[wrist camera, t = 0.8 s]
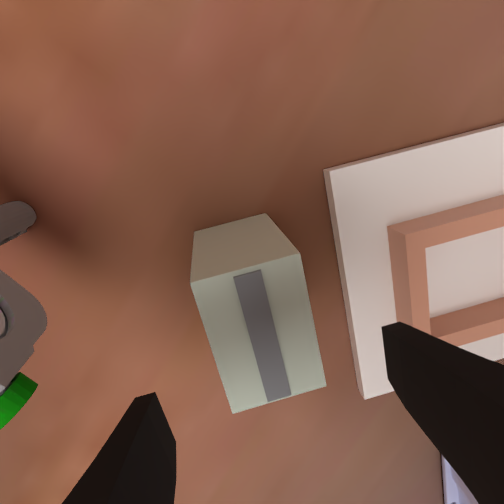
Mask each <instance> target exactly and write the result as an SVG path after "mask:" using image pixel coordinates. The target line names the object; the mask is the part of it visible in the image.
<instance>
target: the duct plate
mask: <svg viewBox="0 0 504 504" xmlns="http://www.w3.org/2000/svg"><path fill="white" fill-rule="evenodd" d="M323 173H324V179H325V186H326V192H327V198H328V204H329V211H330V217H331V223H332V229H333V235H334V242H335V248H336V254H337V260H338V267H339V273H340V279H341V285H342V292H343V298H344V304H345V310H346V316H347V323H348V329H349V335H350V341H351V348H352V354H353V360H354V366H355V372H356V379H357V385H358V390H359V391H360V393H361V395H362V396H363V398H364V399H369V398H372V397H375V396H379V395H382V394H385V393H389V392H392V391H395V390H394V389H393V387H392V385H391V384H390V382H389V380H388V378H387V369H386V361H385V353H384V345H383V336H382V328H381V327H382V326H386V325H389V324H393V323H396V322H402V323H405V324H407V325H410V326H412V327H414V328H417V329H419V330H421V331H423V332H425V333H428V334H430V335H432V336H434V337H437V338H439V339H441V340H443V341H446V342H448V343H450V344H452V345H455V346H457V347H459V348H462V349H464V350H466V351H469V352H471V353H474V354H476V355H479V356H481V357H484V358H486V359H489V360H492V361H496V360H499V359H502V358H504V123H500V124H496V125H492V126H489V127H485V128H481V129H477V130H473V131H469V132H466V133H462V134H458V135H454V136H450V137H446V138H442V139H439V140H435V141H431V142H427V143H423V144H419V145H416V146H412V147H408V148H404V149H400V150H396V151H392V152H389V153H385V154H381V155H377V156H373V157H369V158H365V159H362V160H358V161H354V162H350V163H346V164H342V165H339V166H335V167H331V168H327V169H323Z"/></svg>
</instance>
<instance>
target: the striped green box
mask: <svg viewBox="0 0 504 504" xmlns="http://www.w3.org/2000/svg"><path fill="white" fill-rule="evenodd" d="M190 285H191V288H192V291H193V294H194V297H195V300H196V303H197V307H198V310H199V313H200V316H201V319H202V322H203V325H204V328H205V331H206V334H207V337H208V340H209V343H210V346H211V349H212V352H213V355H214V359H215V362H216V365H217V368H218V371H219V374H220V377H221V380H222V383H223V386H224V389H225V392H226V395H227V398H228V401H229V404H230V407H231V410H232V414H234V413H237V412H240V411H244V410H247V409H251V408H254V407H257V406H261V405H264V404H268V403H271V402H274V401H278V400H281V399H284V398H288V397H291V396H295V395H298V394H301V393H305V392H308V391H311V390H315V389H318V388H322V387H325V386H326V381H325V376H324V371H323V366H322V361H321V356H320V351H319V346H318V341H317V336H316V331H315V326H314V321H313V316H312V311H311V306H310V300H309V295H308V290H307V285H306V280H305V275H304V270H303V265H302V260H301V255H300V252H299V251H298V250H297V249H296V248H295V246H294V245H293V244H292V243H291V242H290V241H289V239H288V238H287V237H286V236H285V235H284V234H283V232H282V231H281V230H280V229H279V228H278V227H277V225H276V224H275V223H274V222H273V221H272V220H271V218H270V217H269V216H268V215H267V214H266V213H263V214H259V215H256V216H252V217H248V218H244V219H240V220H237V221H233V222H229V223H225V224H222V225H218V226H214V227H210V228H206V229H203V230H199V231H195V232H194V240H193V251H192V263H191V275H190Z"/></svg>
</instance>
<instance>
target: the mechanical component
mask: <svg viewBox="0 0 504 504" xmlns="http://www.w3.org/2000/svg"><path fill="white" fill-rule="evenodd" d="M36 218H37V217H36V213H35V211H34V210H33V209H32V207H31V206H29V205H28V204H27V203H24V202H21V201H13V202H9V203H5V204H2V205H0V245H2V244H4V243H6V242H8V241H10V240H12V239H14V238H16V237H18V236H19V235H21V234H23V233H25V232H27V231H26V229H27V228H28V227H30V226H31V225H33V224H34V222H35V220H36ZM46 326H47V317H46V313H45V311H44V308H43V307H42V305H41V304H40V302H39V301H38V300H37V299H36V298H35V297H34V296H33V295H32V294H31V293H30V292H28V291H27V290H26V289H25V288H23V287H22V286H21V285H19V284H18V283H17V282H16V281H14V280H13V279H12V278H10V277H9V276H8V275H7V274H5V273H4V272H3V271H1V270H0V429H2V428H3V427H4V426H5V425H6V424H7V423H8V422H9V421H10V420H11V419H12V418H13V417H14V416H15V415H16V414H17V413H18V411H19V410H20V409H21V408H22V407H23V406H24V405H25V403H26V402H27V401H28V400H29V398H30V397H31V396H32V394H33V393H34V391H35V390H36V388H37V386H38V384H37V383H35V382H34V381H32V380H31V379H30V378H28V377H27V376H25V375H24V374H22V373H21V372H19V373H18V371H19V370H20V369H21V367H22V366H23V365H24V364H25V362H26V361H27V360H28V359H29V357H30V356H31V355H32V354H33V352H34V348H33V345H34V343H35V342H36V341H37V340H38V338H39V337H40V336H41V335H42V333H43V332H44V331H45V329H46Z"/></svg>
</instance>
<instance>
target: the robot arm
mask: <svg viewBox="0 0 504 504" xmlns="http://www.w3.org/2000/svg"><path fill="white" fill-rule="evenodd" d="M381 328H382V336H383V345H384V353H385V361H386V369H387V378H388V380H389V382H390V384H391V385H392V387H393V389H394V390H395V392H396V394H397V395H398V397H399V399H400V400H401V402H402V403H403V405H404V406H405V408H406V409H407V411H408V412H409V413H410V415H411V416H412V417H413V419H414V420H415V421H416V422H417V424H418V425H419V426H420V427H421V429H422V430H423V431H424V433H425V434H426V435H427V436H428V438H429V439H430V440H431V441H432V443H433V444H434V445H435V446H436V448H437V449H438V450H439V452H440V453H441V454H442V469H443V485H444V502H445V504H504V365H502V364H500V363H497V362H494V361H492V360H489V359H486V358H484V357H481V356H479V355H476V354H474V353H471V352H469V351H466V350H464V349H462V348H459V347H457V346H455V345H452V344H450V343H448V342H446V341H443V340H441V339H439V338H437V337H434V336H432V335H430V334H428V333H425V332H423V331H421V330H419V329H417V328H414V327H412V326H410V325H407V324H405V323H402V322H396V323H393V324H389V325H386V326H382V327H381ZM175 486H176V441H175V439H174V436H173V434H172V431H171V429H170V427H169V424H168V422H167V419H166V417H165V415H164V412H163V410H162V407H161V405H160V403H159V400H158V398H157V395H156V393H155V392H154V393H150V394H147V395H143V396H140V397H136V398H135V399H134V400H133V402H132V403H131V405H130V406H129V408H128V409H127V411H126V412H125V414H124V416H123V417H122V419H121V420H120V422H119V423H118V425H117V426H116V428H115V429H114V431H113V432H112V434H111V435H110V437H109V438H108V440H107V441H106V443H105V444H104V446H103V447H102V449H101V450H100V452H99V453H98V455H97V456H96V458H95V459H94V461H93V462H92V463H91V465H90V466H89V468H88V469H87V470H86V472H85V473H84V474H83V476H82V477H81V479H80V480H79V481H78V483H77V484H76V485H75V487H74V488H73V489H72V491H71V492H70V494H69V495H68V496H67V498H66V499H65V500H64V502H63V503H62V504H174V496H175Z"/></svg>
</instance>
